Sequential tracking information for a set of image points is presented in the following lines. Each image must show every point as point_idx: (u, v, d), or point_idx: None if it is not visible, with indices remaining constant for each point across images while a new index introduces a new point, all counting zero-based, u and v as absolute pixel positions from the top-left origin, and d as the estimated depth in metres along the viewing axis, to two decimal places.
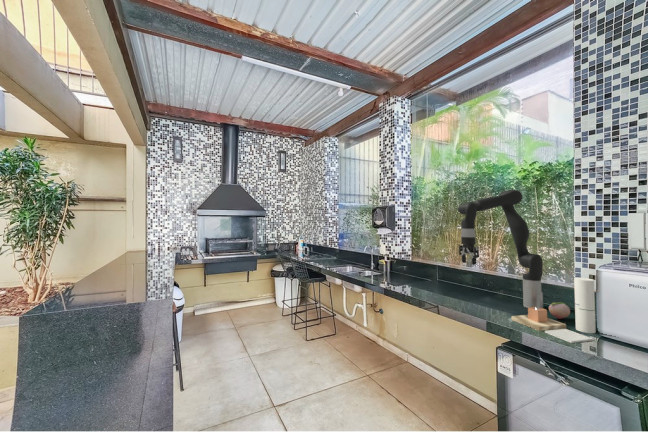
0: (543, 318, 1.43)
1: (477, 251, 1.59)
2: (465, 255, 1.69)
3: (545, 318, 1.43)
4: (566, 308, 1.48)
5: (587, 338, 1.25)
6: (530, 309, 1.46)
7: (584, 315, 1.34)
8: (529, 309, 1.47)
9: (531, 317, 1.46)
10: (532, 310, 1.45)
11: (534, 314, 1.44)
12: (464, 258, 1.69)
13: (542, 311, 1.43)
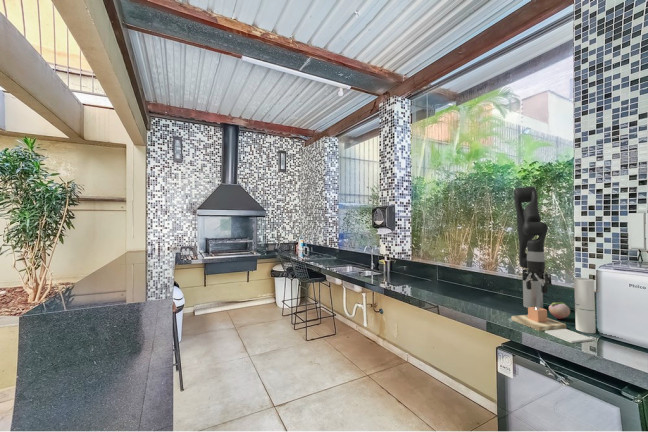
0: (543, 318, 1.43)
1: (549, 278, 1.39)
2: (530, 281, 1.50)
3: (545, 318, 1.43)
4: (566, 308, 1.48)
5: (587, 338, 1.25)
6: (530, 309, 1.46)
7: (584, 315, 1.34)
8: (529, 309, 1.47)
9: (531, 317, 1.46)
10: (532, 310, 1.45)
11: (534, 314, 1.44)
12: (529, 284, 1.50)
13: (542, 311, 1.43)
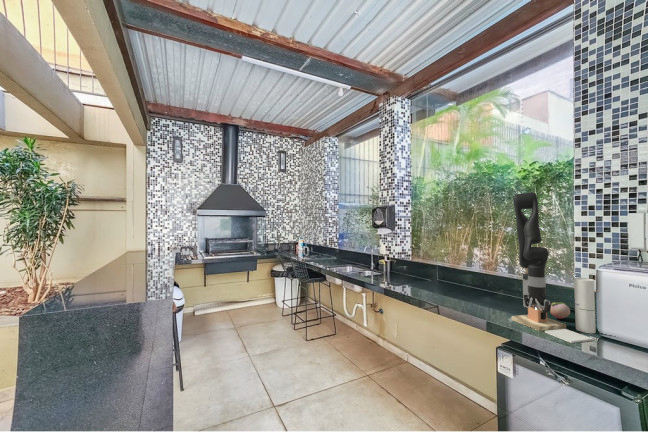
0: None
1: (549, 306, 1.40)
2: None
3: None
4: (566, 308, 1.48)
5: (587, 338, 1.25)
6: (530, 309, 1.46)
7: (584, 315, 1.34)
8: (529, 309, 1.47)
9: (531, 317, 1.46)
10: (532, 310, 1.45)
11: (534, 314, 1.44)
12: None
13: None
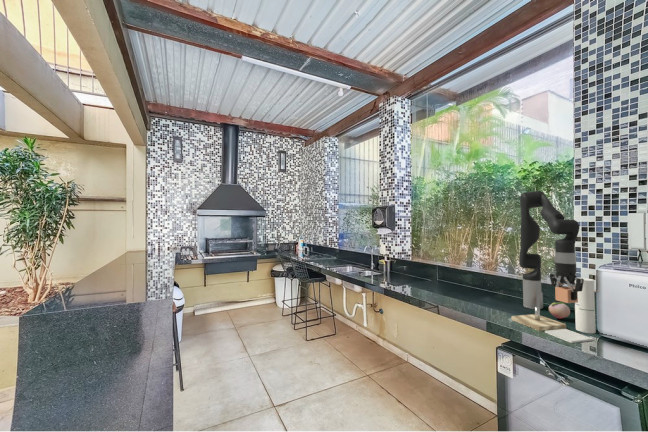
0: None
1: (581, 284, 1.24)
2: None
3: None
4: (566, 308, 1.48)
5: (587, 338, 1.25)
6: (558, 289, 1.31)
7: (584, 315, 1.34)
8: (557, 289, 1.31)
9: (559, 298, 1.30)
10: (560, 290, 1.30)
11: (563, 294, 1.29)
12: None
13: None
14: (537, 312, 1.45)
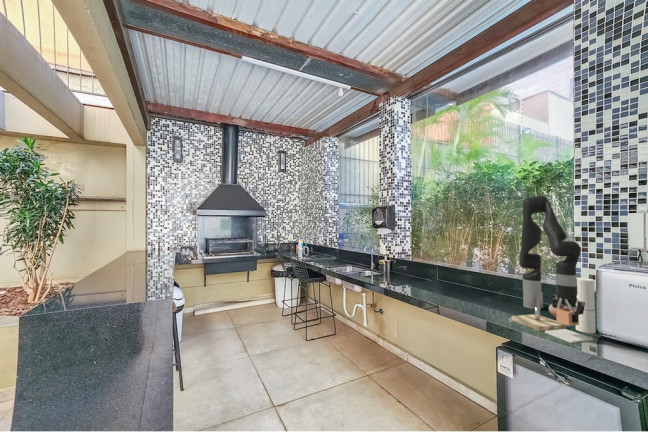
0: None
1: (582, 307, 1.24)
2: None
3: None
4: None
5: (587, 338, 1.25)
6: (559, 311, 1.31)
7: (584, 315, 1.34)
8: (558, 311, 1.31)
9: (560, 320, 1.30)
10: (561, 312, 1.29)
11: (564, 316, 1.28)
12: None
13: None
14: (537, 312, 1.45)
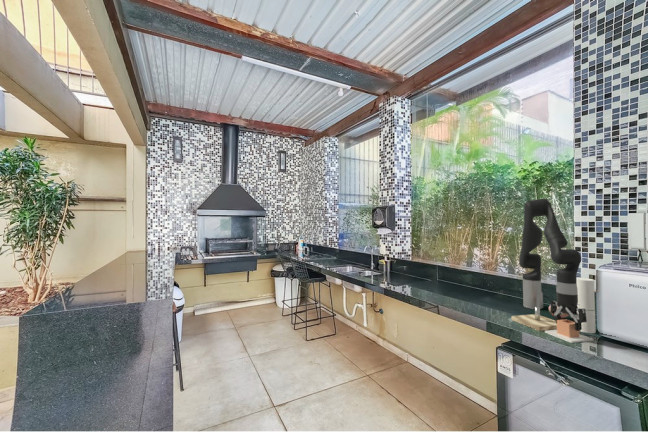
0: (575, 333, 1.27)
1: (584, 314, 1.23)
2: (560, 314, 1.34)
3: (577, 333, 1.27)
4: None
5: (587, 338, 1.25)
6: (559, 322, 1.30)
7: None
8: (558, 322, 1.31)
9: (561, 331, 1.30)
10: (562, 323, 1.29)
11: (564, 328, 1.28)
12: (559, 318, 1.33)
13: (574, 325, 1.27)
14: (537, 312, 1.45)
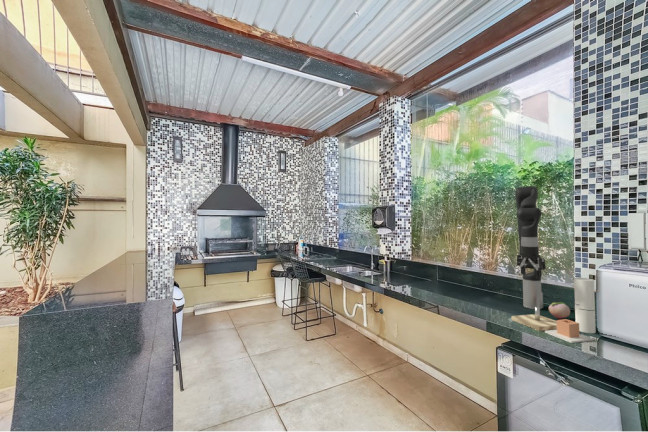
0: (575, 333, 1.27)
1: (543, 263, 1.41)
2: (525, 266, 1.52)
3: (577, 333, 1.27)
4: (566, 308, 1.48)
5: (587, 338, 1.25)
6: (559, 322, 1.30)
7: (584, 315, 1.34)
8: (558, 322, 1.31)
9: (561, 331, 1.30)
10: (562, 323, 1.29)
11: (564, 328, 1.28)
12: (523, 269, 1.52)
13: (574, 325, 1.27)
14: (537, 312, 1.45)
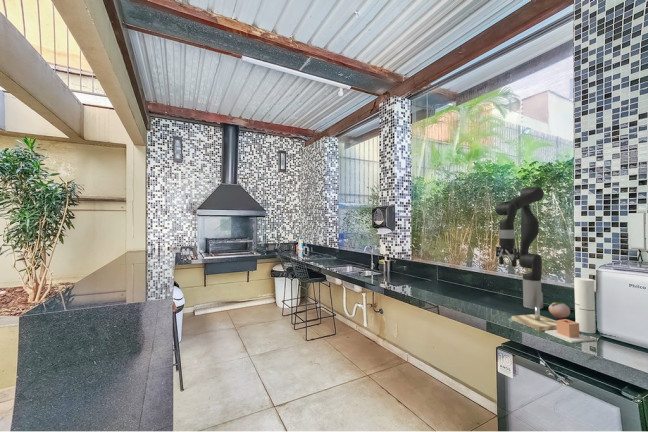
0: (575, 333, 1.27)
1: (518, 253, 1.55)
2: None
3: (577, 333, 1.27)
4: (566, 308, 1.48)
5: (587, 338, 1.25)
6: (559, 322, 1.30)
7: (584, 315, 1.34)
8: (558, 322, 1.31)
9: (561, 331, 1.30)
10: (562, 323, 1.29)
11: (564, 328, 1.28)
12: (501, 259, 1.65)
13: (574, 325, 1.27)
14: (537, 312, 1.45)
